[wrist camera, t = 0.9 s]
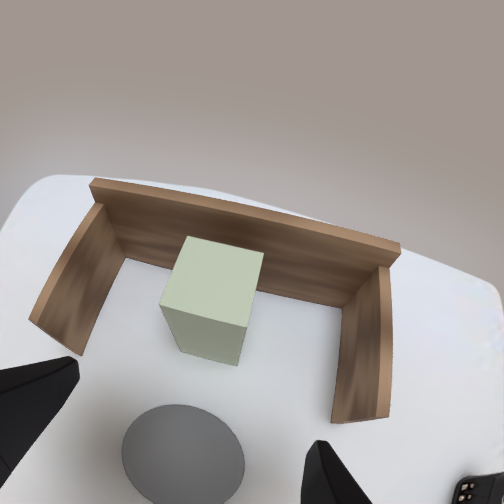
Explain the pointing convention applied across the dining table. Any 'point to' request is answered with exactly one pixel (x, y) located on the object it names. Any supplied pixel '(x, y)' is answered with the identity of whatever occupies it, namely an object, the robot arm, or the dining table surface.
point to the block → (211, 298)
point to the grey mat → (182, 456)
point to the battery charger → (481, 489)
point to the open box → (270, 277)
